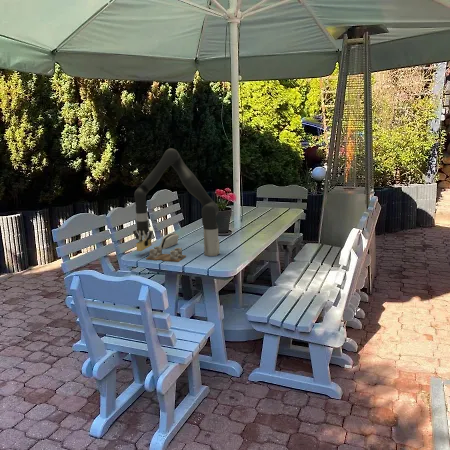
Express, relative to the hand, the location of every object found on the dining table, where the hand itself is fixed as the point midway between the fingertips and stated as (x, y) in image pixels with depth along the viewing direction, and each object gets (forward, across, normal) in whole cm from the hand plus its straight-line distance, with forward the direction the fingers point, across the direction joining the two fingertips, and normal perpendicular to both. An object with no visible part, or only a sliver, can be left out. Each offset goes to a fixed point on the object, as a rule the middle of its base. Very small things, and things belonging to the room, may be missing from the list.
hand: (144, 245), depth 297 cm
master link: (+2, 0, 0) cm, 2 cm away
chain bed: (+6, -17, +5) cm, 19 cm away
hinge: (+6, -7, -24) cm, 26 cm away
